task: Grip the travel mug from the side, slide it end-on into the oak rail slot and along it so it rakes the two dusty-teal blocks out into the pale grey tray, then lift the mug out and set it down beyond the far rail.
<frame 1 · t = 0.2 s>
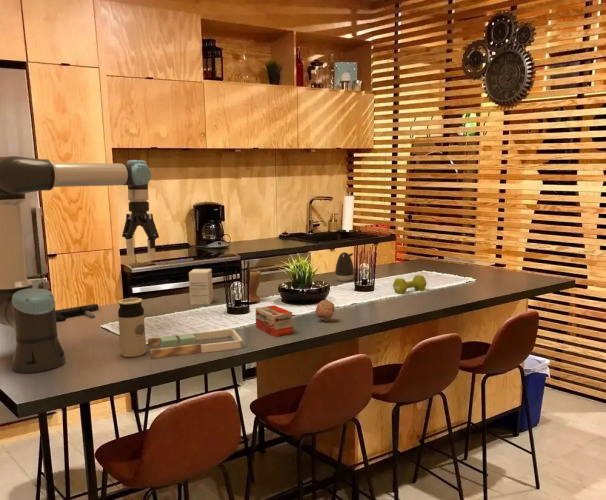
hand: (141, 256, 217), 27 cm above the counter, tool pointing down, fingers open, 13 cm apart
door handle: (78, 317, 237), on the counter
brown boot: (247, 301, 258), on the counter
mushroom: (325, 321, 220), on the counter
supplement box: (201, 303, 256), on the counter
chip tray: (216, 343, 194), on the counter
medicine box: (274, 331, 208), on the counter
slot rails: (174, 348, 189), on the counter
travel mug: (133, 354, 185), on the counter
chip b: (169, 350, 189), on the counter
dumbbell: (409, 292, 270), on the counter
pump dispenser: (345, 280, 300), on the counter
chip a: (187, 347, 190), on the counter
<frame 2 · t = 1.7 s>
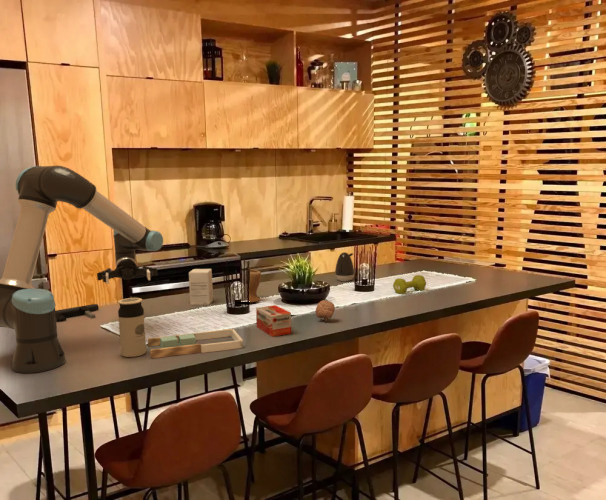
hand: (128, 278, 191), 24 cm above the counter, tool horizontal, fingers open, 13 cm apart
nothing on the counter moved.
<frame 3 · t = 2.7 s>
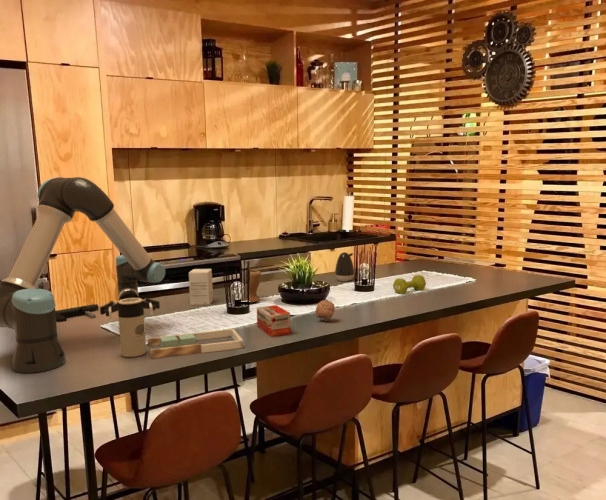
hand: (131, 313, 193), 11 cm above the counter, tool horizontal, fingers open, 13 cm apart
nothing on the counter moved.
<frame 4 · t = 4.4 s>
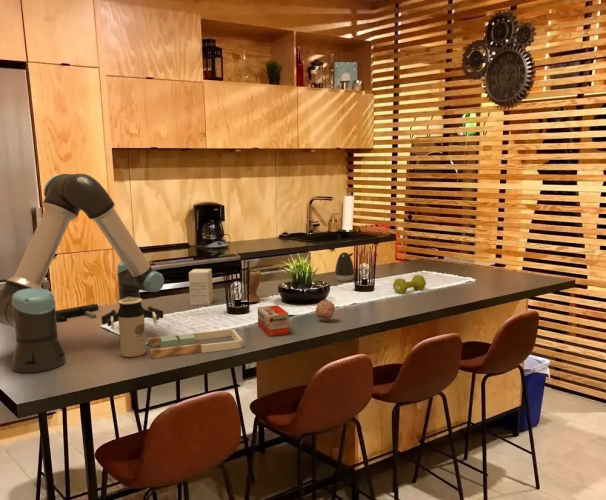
hand: (134, 322, 186), 10 cm above the counter, tool horizontal, fingers open, 13 cm apart
nothing on the counter moved.
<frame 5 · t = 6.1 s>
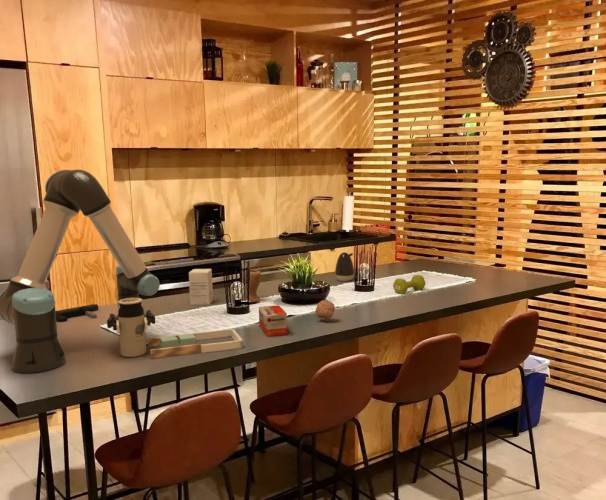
hand: (132, 327, 179), 10 cm above the counter, tool horizontal, fingers closed on travel mug, 8 cm apart
travel mug: (133, 354, 185), on the counter, touching gripper
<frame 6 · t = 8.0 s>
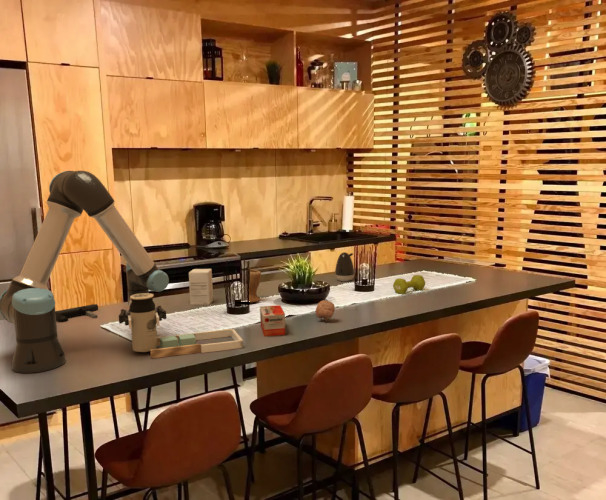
hand: (144, 322, 181), 11 cm above the counter, tool horizontal, fingers closed on travel mug, 8 cm apart
travel mug: (145, 349, 186), point 1 cm above the counter, touching gripper
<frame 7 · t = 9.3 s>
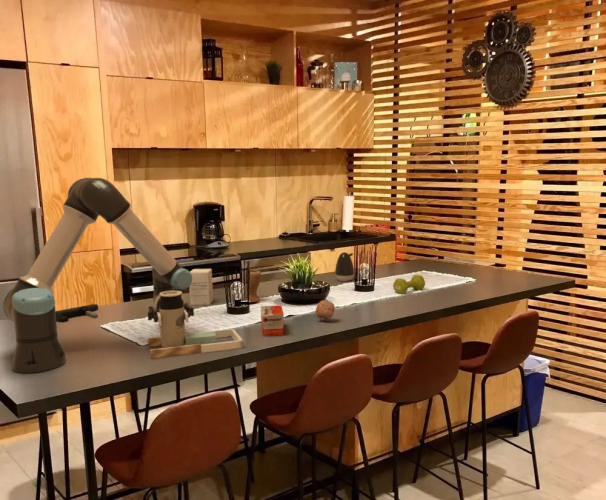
hand: (173, 319, 184), 11 cm above the counter, tool horizontal, fingers closed on travel mug, 8 cm apart
travel mug: (173, 345, 189), point 1 cm above the counter, touching chip b, gripper
chip b: (193, 347, 190), on the counter, touching chip a, travel mug
chip a: (208, 345, 192), on the counter, touching chip b
when the fingers open (11 cm above the counter, at t = 15.3 s): travel mug stays where it is, on the counter.
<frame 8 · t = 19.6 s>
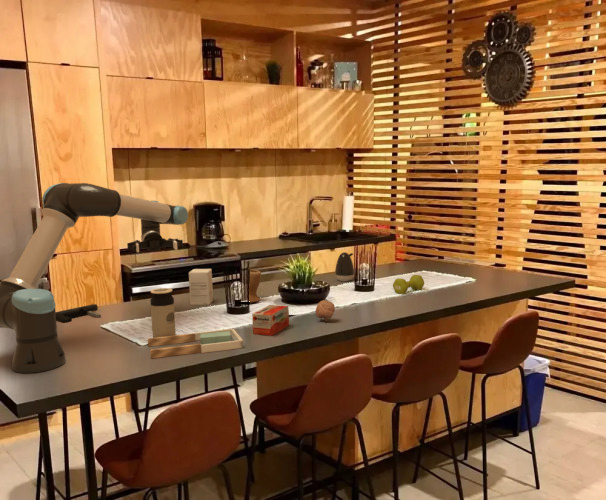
hand: (157, 247, 204), 32 cm above the counter, tool horizontal, fingers open, 13 cm apart
travel mug: (164, 340, 200), on the counter
chip b: (208, 346, 191), on the counter
chip a: (223, 345, 193), on the counter
at the end: chip a 2.6 cm from the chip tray (horizontally); chip b 3.5 cm from the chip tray (horizontally); travel mug inside the target area (0.2 cm from its centre), on the counter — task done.
